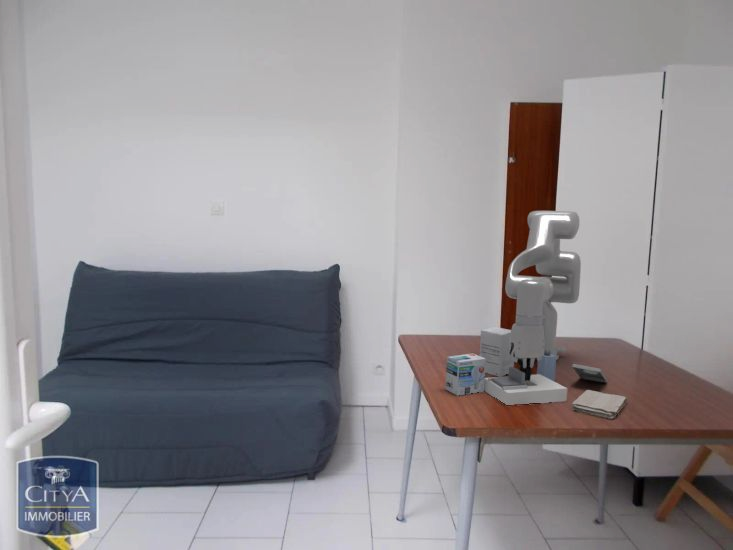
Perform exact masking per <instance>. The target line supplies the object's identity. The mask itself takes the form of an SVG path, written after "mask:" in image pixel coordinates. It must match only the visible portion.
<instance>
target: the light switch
mask: <svg viewBox="0 0 733 550" xmlns="http://www.w3.org/2000/svg"><path fill="white" fill-rule="evenodd" d="M571 367H572V369H573V370H574V371H575V374H577V375H578V377H579V378H580V379H583V380H588V381H593V382H594V381H595V382H598V383H603V382H604V384H607V383H608V379H607V378H606V376H605V374H604V372H603V371H602V369H601V368H598V367H593V366H592V367H591V366H588V365H582V364H575V363H573V364H572V366H571Z"/></svg>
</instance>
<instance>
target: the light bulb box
mask: <svg viewBox="0 0 733 550" xmlns="http://www.w3.org/2000/svg"><path fill="white" fill-rule="evenodd" d="M485 367H486V359H485V358H483V357H480V355H477V354H476V353H467V354H465V353H464V354H460V355H459V354H458V355H451V356H450V355H449V356H446V370H445V390H446V391H448V392H450V393H451V394H454V395H455V396H457V397H459V395H460V396H465V394H466V395H471V393H473V394H478V393H477V392H479V393H484V392H485V391H484V383H485V378H486V373H485Z"/></svg>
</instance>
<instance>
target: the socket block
mask: <svg viewBox="0 0 733 550" xmlns="http://www.w3.org/2000/svg"><path fill="white" fill-rule="evenodd" d="M498 377H499V376H495V377H494V376H493V377H485V383H484V392H485V393H487V394H488V395H490V396H491V397H492V398H494V397H495V398H494V399H496V398H497V399H498V400H497V399H496V400H497V401H499V400H500V401H501V402H503V403H505V404H506V405H514V404H529V403H541V404H548V403H549V402H552V403H562V402H567V400H568V399H567V397H568V387H565V386H563V385H562V384H560V383H558V382H556V381H555V382H554V381H552V380H550V379H548V378H546V377H544V376H542V375H540V374H537V373H536V374H531V377H530V381H528V380H527V381H525V385H519V386H505V387H501V386H500V385H498V384H497V383H495V382H493V381H492V378H498ZM505 377H509V375H508V376H507V375H505ZM500 401H499V402H500ZM501 402H500V403H501ZM503 403H502V404H503ZM549 404H550V403H549ZM506 405H505V406H506ZM529 405H530V404H529Z"/></svg>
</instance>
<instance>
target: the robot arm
mask: <svg viewBox="0 0 733 550" xmlns="http://www.w3.org/2000/svg"><path fill="white" fill-rule="evenodd" d="M527 225H528V228H529V231H528V233H529V234H528V238H527V245H526V249H525V250H523V251H522V252H520V253H519V254H518V255H516V256H515V258H514V259H513V260H512V261H511V263H510V264H509V267H508V269H507V270H508V271H507V275H506V279H505V286H504V287H505V294H506V296H507V297H509V298H510V299H514V300H516V308H515V310H516V311H515V323H513V324H512V327H511V329H510V330H511V333H510V338H509V346H508V353H509V354H510V355H511V356H510V360H511V361H512V362H514V363H517V364H518V367H519V370H520V371H522V372H524V373H525V381H527V380H528V381H530V377H531V375H532V368H534V366H535V364H536V363H538V361H540V360H542V359H543V357H542V356H543V354H544V350H551V354H552V355H554V356H556V361H557V360H559V357H560V355H559V354H558V353H565V352H566V351H567V349H566V347H565V346H560V347H559V346H558V345H556V341H557V329H558V312H557V309H556V308H555V306H554V305H553V304H552V303H560V304H575V303H576V302H577V301H578V299H579V296H580V290H581V289H580V287H581V268H582V267H581V266H582V265H581V264H582V263H581V257H580V255H579V254H578V253H577V252H576V251H575V252H574V251H569V250H568V251H566V250H561V249H560V248H561V240H572V239H574V238H575V237H576V235H577V234H578V232H579V228H580V216H579V214H578V213H577V211H576V212H575V211H567V210H533V211H530V212H529V214H528V215H527ZM533 266H535V271H536V273H537V274H540V275H541V276H532V275H519V273H520V272H521V271H523V270H525V269H527V268H529V267H533Z"/></svg>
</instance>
